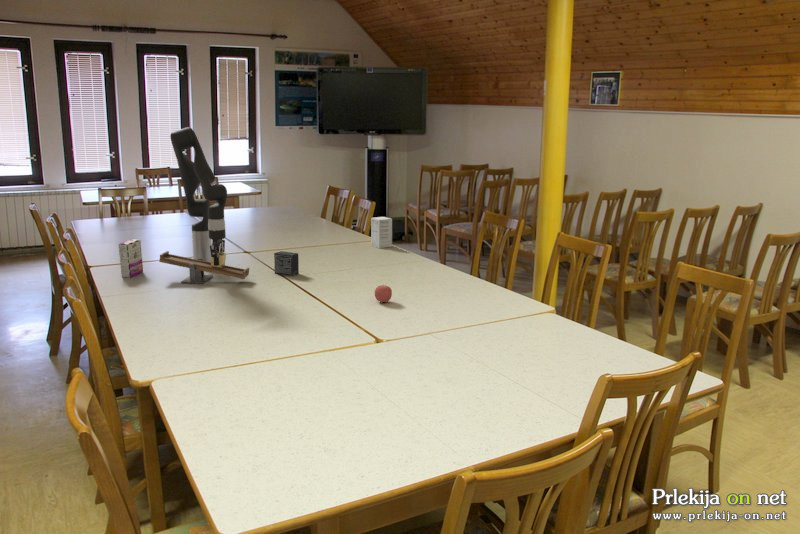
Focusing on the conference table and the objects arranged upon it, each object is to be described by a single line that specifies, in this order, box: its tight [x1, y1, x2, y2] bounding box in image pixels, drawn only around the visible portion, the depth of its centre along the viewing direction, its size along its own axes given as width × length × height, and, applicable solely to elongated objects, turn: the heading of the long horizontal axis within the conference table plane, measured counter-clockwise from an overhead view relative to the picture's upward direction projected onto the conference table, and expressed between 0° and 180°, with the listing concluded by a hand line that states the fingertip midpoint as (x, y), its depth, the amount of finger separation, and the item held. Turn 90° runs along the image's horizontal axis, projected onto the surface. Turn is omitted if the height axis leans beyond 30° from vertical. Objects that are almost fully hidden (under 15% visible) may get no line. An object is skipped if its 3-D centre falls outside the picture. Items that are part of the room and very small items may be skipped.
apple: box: [374, 283, 393, 303], centre depth 290 cm, size 7×7×8 cm
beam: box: [159, 250, 250, 280], centre depth 317 cm, size 8×40×4 cm, turn 85°
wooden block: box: [211, 252, 227, 269], centre depth 316 cm, size 5×5×7 cm
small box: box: [273, 250, 300, 277], centre depth 333 cm, size 11×6×10 cm, turn 65°
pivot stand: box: [180, 259, 214, 286], centre depth 318 cm, size 14×10×9 cm
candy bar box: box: [118, 238, 144, 278], centre depth 324 cm, size 11×5×16 cm, turn 168°
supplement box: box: [370, 216, 393, 249], centre depth 399 cm, size 10×9×17 cm
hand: (218, 263), depth 316 cm, fingers closed on wooden block, 5 cm apart
